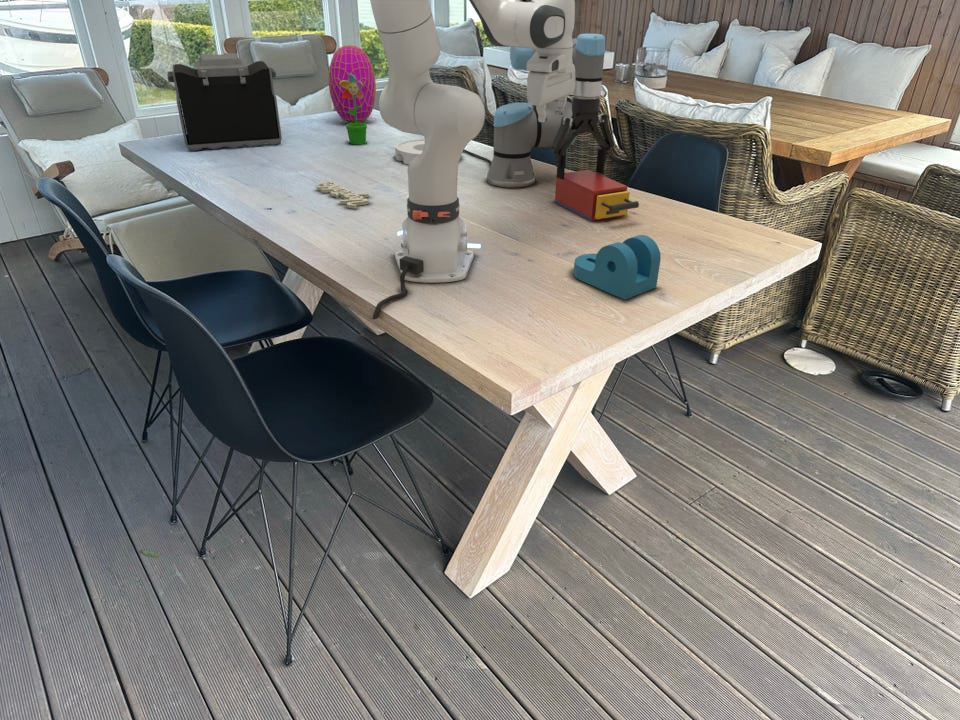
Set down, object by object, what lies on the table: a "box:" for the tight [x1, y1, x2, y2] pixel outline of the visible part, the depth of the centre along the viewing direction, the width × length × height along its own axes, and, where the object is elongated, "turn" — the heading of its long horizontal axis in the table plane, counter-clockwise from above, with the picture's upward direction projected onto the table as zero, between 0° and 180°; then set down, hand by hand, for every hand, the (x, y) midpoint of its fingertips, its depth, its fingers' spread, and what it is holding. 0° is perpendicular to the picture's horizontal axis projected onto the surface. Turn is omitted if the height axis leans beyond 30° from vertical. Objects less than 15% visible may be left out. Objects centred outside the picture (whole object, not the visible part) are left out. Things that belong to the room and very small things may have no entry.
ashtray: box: [394, 138, 462, 166], centre depth 243 cm, size 23×23×4 cm
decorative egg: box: [328, 44, 377, 124], centre depth 286 cm, size 19×19×30 cm
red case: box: [554, 169, 628, 222], centre depth 195 cm, size 19×11×8 cm, turn 27°
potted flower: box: [339, 73, 368, 145], centre depth 255 cm, size 9×8×25 cm
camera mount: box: [573, 234, 662, 301], centre depth 150 cm, size 18×10×10 cm, turn 39°
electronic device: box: [166, 52, 283, 152], centre depth 253 cm, size 37×22×30 cm, turn 111°
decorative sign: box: [316, 180, 370, 210], centre depth 205 cm, size 26×1×10 cm
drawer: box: [595, 190, 640, 220], centre depth 191 cm, size 22×10×6 cm, turn 27°
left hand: (551, 118), depth 175 cm, fingers open, 8 cm apart
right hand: (580, 175), depth 197 cm, fingers open, 13 cm apart
